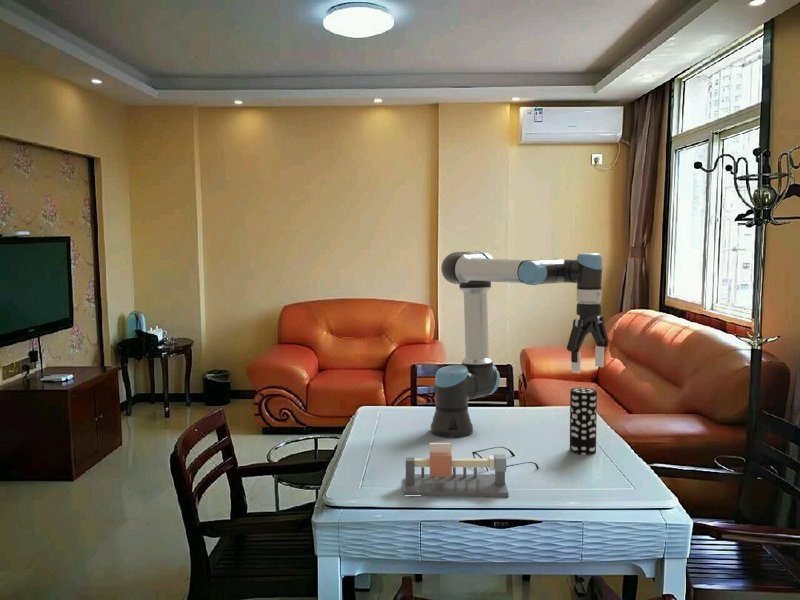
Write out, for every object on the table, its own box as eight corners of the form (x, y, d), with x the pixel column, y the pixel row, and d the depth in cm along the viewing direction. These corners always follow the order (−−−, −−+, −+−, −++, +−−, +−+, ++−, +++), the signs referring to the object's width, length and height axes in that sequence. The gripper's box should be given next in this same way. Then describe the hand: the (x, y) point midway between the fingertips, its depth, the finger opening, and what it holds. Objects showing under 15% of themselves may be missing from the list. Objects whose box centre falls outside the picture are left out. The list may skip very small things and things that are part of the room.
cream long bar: (408, 471, 184) (408, 458, 183) (408, 466, 187) (408, 454, 187) (506, 471, 182) (506, 458, 182) (504, 466, 186) (504, 454, 186)
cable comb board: (404, 496, 179) (403, 467, 178) (405, 478, 193) (405, 451, 192) (508, 496, 178) (508, 467, 177) (502, 478, 192) (502, 451, 191)
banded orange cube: (429, 476, 182) (429, 446, 182) (429, 469, 188) (429, 440, 188) (451, 477, 182) (451, 446, 181) (451, 469, 188) (450, 440, 187)
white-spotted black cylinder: (597, 455, 211) (598, 393, 210) (570, 454, 213) (570, 392, 211) (594, 447, 219) (595, 388, 218) (569, 446, 221) (569, 387, 219)
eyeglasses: (469, 462, 207) (469, 450, 207) (512, 455, 214) (512, 443, 213) (497, 479, 192) (497, 466, 192) (542, 471, 198) (543, 458, 198)
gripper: (577, 306, 197) (575, 376, 199) (620, 300, 214) (619, 365, 216) (555, 304, 202) (554, 373, 204) (599, 299, 219) (598, 362, 221)
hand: (587, 369), depth 210 cm, fingers open, 13 cm apart
